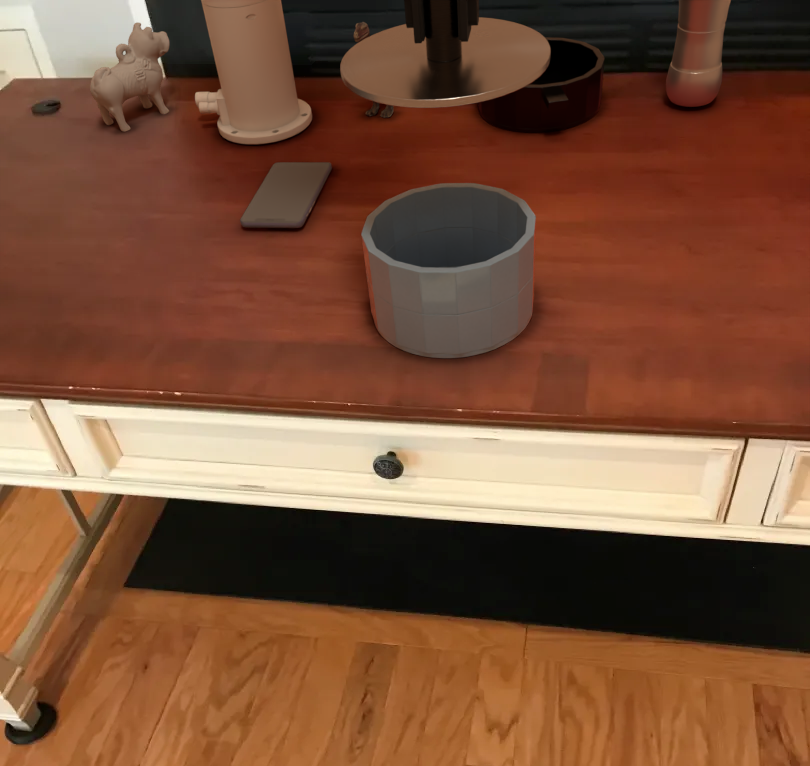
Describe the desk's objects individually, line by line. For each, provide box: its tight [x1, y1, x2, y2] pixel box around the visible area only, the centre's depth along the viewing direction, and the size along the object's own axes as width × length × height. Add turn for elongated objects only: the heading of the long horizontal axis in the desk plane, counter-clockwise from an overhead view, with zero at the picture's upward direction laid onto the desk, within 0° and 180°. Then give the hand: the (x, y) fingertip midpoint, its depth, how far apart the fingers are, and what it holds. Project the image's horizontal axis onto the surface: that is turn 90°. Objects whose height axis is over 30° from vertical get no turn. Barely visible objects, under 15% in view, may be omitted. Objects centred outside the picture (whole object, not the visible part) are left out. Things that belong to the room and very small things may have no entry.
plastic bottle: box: [665, 0, 732, 108], centre depth 106 cm, size 6×7×20 cm
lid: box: [339, 0, 551, 109], centre depth 70 cm, size 17×17×8 cm
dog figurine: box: [89, 21, 170, 132], centre depth 122 cm, size 5×13×11 cm, turn 138°
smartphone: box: [239, 161, 333, 229], centre depth 105 cm, size 8×1×15 cm
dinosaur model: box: [353, 21, 395, 119], centre depth 117 cm, size 4×12×15 cm
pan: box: [477, 37, 606, 134], centre depth 115 cm, size 16×21×6 cm
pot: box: [360, 182, 537, 359], centre depth 85 cm, size 16×16×9 cm
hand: (443, 33), depth 71 cm, fingers closed on lid, 2 cm apart
